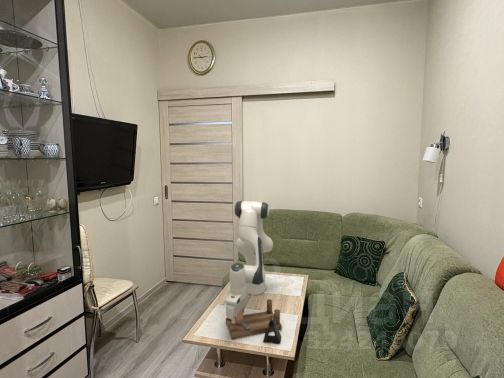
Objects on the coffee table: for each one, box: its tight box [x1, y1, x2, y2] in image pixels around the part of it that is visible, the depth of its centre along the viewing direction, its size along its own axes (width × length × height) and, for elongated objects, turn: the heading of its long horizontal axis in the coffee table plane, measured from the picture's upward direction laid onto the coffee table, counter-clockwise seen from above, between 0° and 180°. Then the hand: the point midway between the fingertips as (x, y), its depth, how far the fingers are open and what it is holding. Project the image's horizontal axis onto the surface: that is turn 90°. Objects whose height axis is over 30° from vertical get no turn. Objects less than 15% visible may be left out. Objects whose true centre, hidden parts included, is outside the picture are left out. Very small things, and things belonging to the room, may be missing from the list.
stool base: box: [225, 299, 283, 340], centre depth 171 cm, size 16×28×10 cm, turn 107°
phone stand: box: [262, 316, 282, 345], centre depth 158 cm, size 9×6×12 cm, turn 79°
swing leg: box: [236, 309, 250, 330], centre depth 166 cm, size 10×4×8 cm, turn 38°
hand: (238, 317), depth 166 cm, fingers open, 8 cm apart
